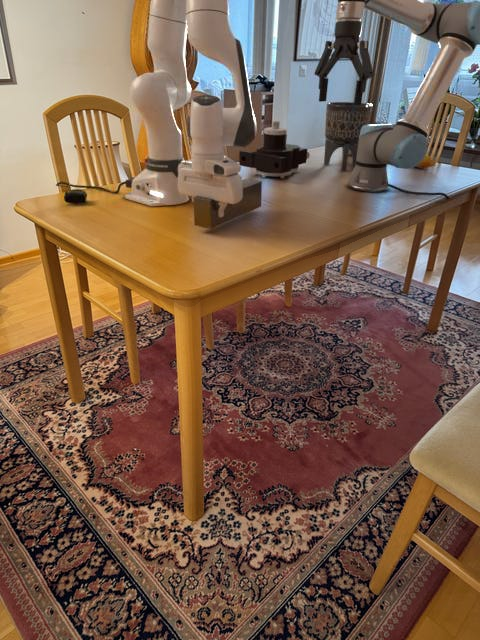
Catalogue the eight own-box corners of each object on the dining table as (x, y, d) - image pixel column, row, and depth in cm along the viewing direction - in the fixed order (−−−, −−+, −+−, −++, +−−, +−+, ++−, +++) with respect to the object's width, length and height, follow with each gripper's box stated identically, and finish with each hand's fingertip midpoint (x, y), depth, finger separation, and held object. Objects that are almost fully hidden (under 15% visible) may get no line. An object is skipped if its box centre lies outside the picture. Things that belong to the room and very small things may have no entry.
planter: (313, 167, 208) (319, 103, 195) (331, 160, 222) (338, 101, 209) (353, 173, 199) (362, 107, 185) (369, 166, 213) (379, 104, 199)
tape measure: (64, 205, 148) (62, 194, 146) (68, 199, 154) (66, 188, 152) (86, 205, 149) (84, 193, 147) (89, 199, 155) (87, 188, 153)
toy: (410, 161, 206) (404, 154, 219) (412, 175, 209) (406, 167, 222) (436, 153, 203) (428, 146, 216) (438, 167, 206) (430, 160, 219)
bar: (245, 203, 148) (246, 178, 144) (261, 206, 145) (261, 181, 141) (194, 225, 128) (193, 197, 124) (211, 229, 126) (210, 200, 122)
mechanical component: (240, 120, 182) (283, 115, 202) (239, 174, 192) (280, 164, 212) (283, 126, 170) (325, 120, 190) (280, 183, 180) (320, 171, 200)
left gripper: (170, 161, 124) (174, 210, 131) (232, 170, 114) (232, 223, 121) (185, 157, 128) (188, 205, 135) (246, 165, 119) (245, 217, 125)
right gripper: (307, 21, 135) (301, 100, 146) (378, 18, 119) (365, 107, 130) (323, 23, 139) (316, 99, 150) (394, 20, 123) (380, 105, 134)
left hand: (209, 214), depth 128 cm, fingers closed on bar, 6 cm apart
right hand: (339, 103), depth 140 cm, fingers open, 13 cm apart
